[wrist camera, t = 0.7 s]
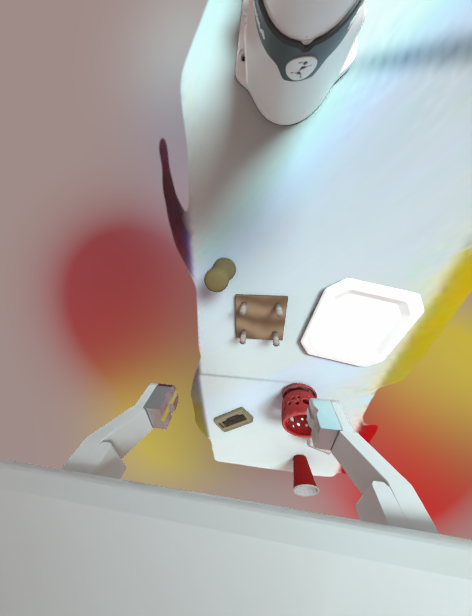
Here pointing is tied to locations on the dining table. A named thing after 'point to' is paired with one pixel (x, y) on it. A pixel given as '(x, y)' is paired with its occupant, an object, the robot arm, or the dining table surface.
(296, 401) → the plant pot
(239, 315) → the standoff base
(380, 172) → the dining table surface
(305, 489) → the plastic cup
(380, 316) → the plate
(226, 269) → the olive gourd
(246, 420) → the computer
